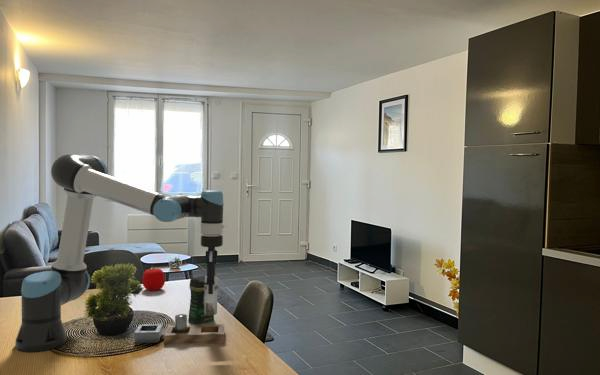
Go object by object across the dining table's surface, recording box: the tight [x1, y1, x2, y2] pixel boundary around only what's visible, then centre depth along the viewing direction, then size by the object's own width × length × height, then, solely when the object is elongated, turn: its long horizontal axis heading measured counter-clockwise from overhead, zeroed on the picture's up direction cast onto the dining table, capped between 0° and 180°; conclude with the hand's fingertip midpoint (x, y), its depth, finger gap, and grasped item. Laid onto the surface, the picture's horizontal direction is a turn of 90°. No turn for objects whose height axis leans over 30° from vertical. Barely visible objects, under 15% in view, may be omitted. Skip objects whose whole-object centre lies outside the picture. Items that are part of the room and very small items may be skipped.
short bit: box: [174, 313, 188, 333], centre depth 165 cm, size 4×4×8 cm
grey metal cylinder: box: [204, 275, 219, 316], centre depth 166 cm, size 5×5×13 cm
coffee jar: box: [187, 274, 215, 325], centre depth 185 cm, size 10×8×19 cm
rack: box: [163, 323, 225, 345], centre depth 166 cm, size 20×10×4 cm, turn 98°
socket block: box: [133, 323, 163, 344], centre depth 165 cm, size 8×8×4 cm
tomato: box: [141, 267, 166, 291], centre depth 231 cm, size 10×11×11 cm
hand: (210, 300), depth 166 cm, fingers closed on grey metal cylinder, 5 cm apart
